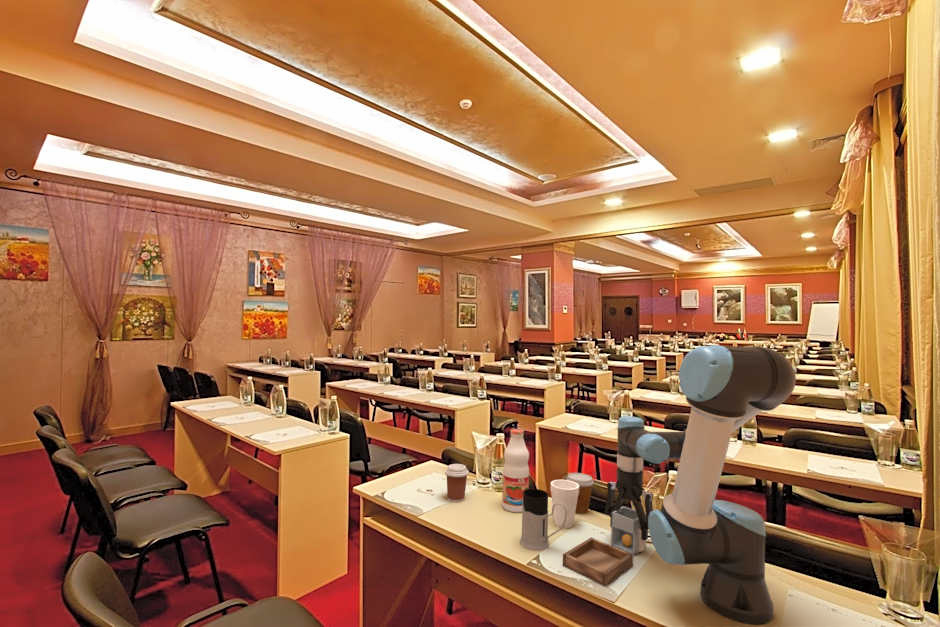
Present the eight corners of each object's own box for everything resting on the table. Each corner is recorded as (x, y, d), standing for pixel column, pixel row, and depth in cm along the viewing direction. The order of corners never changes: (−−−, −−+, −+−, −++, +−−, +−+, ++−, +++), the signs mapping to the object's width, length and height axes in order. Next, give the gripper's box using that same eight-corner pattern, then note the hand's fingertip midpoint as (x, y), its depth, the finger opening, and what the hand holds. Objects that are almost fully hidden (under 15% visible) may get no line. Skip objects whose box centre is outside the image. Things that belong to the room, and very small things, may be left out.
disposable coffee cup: (560, 506, 162) (561, 473, 162) (582, 503, 165) (583, 471, 165) (575, 517, 153) (576, 482, 153) (598, 514, 156) (599, 480, 156)
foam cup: (576, 518, 152) (577, 480, 152) (580, 530, 142) (581, 490, 143) (548, 516, 153) (549, 478, 153) (550, 528, 143) (551, 488, 144)
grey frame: (622, 538, 138) (623, 506, 138) (645, 547, 133) (646, 513, 133) (610, 546, 133) (611, 512, 133) (634, 555, 128) (635, 520, 128)
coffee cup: (443, 503, 161) (444, 470, 162) (444, 493, 170) (445, 462, 171) (468, 503, 161) (469, 470, 162) (467, 494, 170) (468, 463, 171)
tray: (632, 565, 122) (632, 554, 123) (605, 586, 112) (606, 574, 112) (590, 547, 132) (591, 537, 132) (562, 565, 121) (562, 554, 121)
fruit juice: (522, 501, 165) (524, 426, 166) (531, 512, 156) (534, 432, 157) (498, 503, 163) (501, 427, 164) (506, 513, 154) (509, 433, 154)
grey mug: (526, 533, 139) (528, 486, 140) (570, 546, 132) (571, 496, 132) (515, 545, 132) (516, 494, 132) (560, 559, 124) (561, 505, 125)
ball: (636, 544, 132) (634, 536, 131) (628, 550, 131) (626, 542, 130) (628, 538, 135) (626, 529, 134) (620, 543, 134) (618, 535, 133)
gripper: (668, 474, 129) (667, 553, 128) (605, 458, 144) (603, 529, 143) (658, 480, 124) (656, 562, 123) (593, 462, 138) (591, 536, 138)
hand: (628, 544), depth 133 cm, fingers closed on grey frame, 7 cm apart
